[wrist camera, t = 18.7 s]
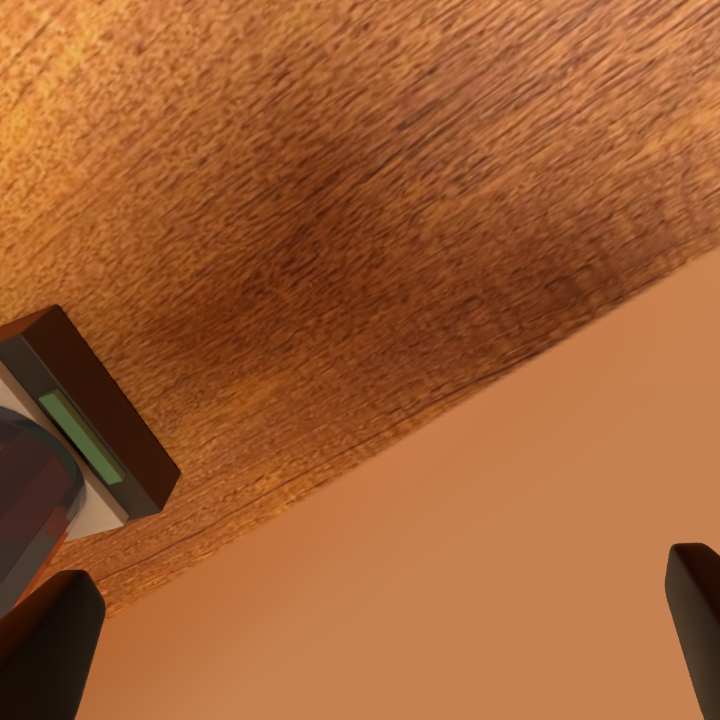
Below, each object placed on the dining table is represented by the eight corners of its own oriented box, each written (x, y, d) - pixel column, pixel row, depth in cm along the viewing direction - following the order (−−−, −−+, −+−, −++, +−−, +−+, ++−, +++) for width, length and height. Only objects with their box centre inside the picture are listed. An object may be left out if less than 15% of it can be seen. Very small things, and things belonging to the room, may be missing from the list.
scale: (182, 473, 26) (156, 524, 24) (28, 518, 28) (-10, 568, 26) (57, 303, 22) (9, 341, 19) (-109, 371, 24) (-171, 414, 22)
